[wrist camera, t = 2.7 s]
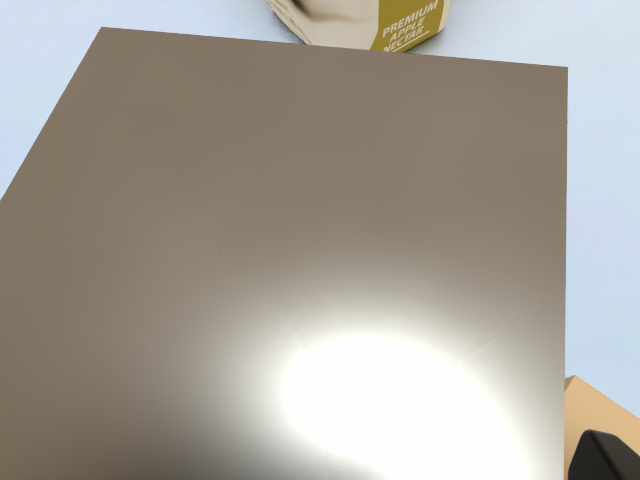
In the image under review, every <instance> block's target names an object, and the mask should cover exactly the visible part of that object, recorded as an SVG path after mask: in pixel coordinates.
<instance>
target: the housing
mask: <svg viewBox="0 0 640 480" xmlns="http://www.w3.org/2000/svg"><path fill="white" fill-rule="evenodd" d="M567 93H568V67H560V66H548V65H537V64H525V63H514V62H502V61H491V60H479V59H467V58H456V57H444V56H433V55H421V54H410V53H398V52H386V51H375V50H363V49H352V48H340V47H328V46H317V45H305V44H294V43H282V42H271V41H259V40H247V39H236V38H224V37H213V36H201V35H190V34H178V33H166V32H155V31H143V30H132V29H120V28H108V27H101V29H100V30H99V32H98V34H97V35H96V37H95V39H94V41H93V42H92V44H91V46H90V47H89V49H88V51H87V53H86V54H85V56H84V58H83V60H82V61H81V63H80V65H79V66H78V68H77V70H76V72H75V73H74V75H73V77H72V79H71V80H70V82H69V84H68V85H67V87H66V89H65V91H64V92H63V94H62V96H61V97H60V99H59V101H58V103H57V104H56V106H55V108H54V110H53V111H52V113H51V115H50V116H49V118H48V120H47V122H46V123H45V125H44V127H43V128H42V130H41V132H40V134H39V135H38V137H37V139H36V141H35V142H34V144H33V146H32V147H31V149H30V151H29V153H28V154H27V156H26V158H25V160H24V161H23V163H22V165H21V166H20V168H19V170H18V172H17V173H16V175H15V177H14V178H13V180H12V182H11V184H10V185H9V187H8V189H7V191H6V192H5V194H4V196H3V197H2V199H1V201H0V480H564V385H565V288H566V190H567Z"/></svg>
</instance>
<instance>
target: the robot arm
mask: <svg viewBox="0 0 640 480" xmlns="http://www.w3.org/2000/svg"><path fill="white" fill-rule="evenodd" d="M568 480H640V456H639V455H638V454H637V453H636V452H635V451H634V450H632V449H631V448H630V447H629V446H628V445H627V444H626V443H624V442H623V441H622V440H621V439H620V438H619V437H617V436H616V435H614V434H611V433H606V432H602V431H597V430H592V429H588V430H585V431H584V432H583V433H582V435H581V437H580V439H579V442H578V445H577V447H576V450H575V452H574V455H573V458H572V460H571V463H570V466H569V469H568Z"/></svg>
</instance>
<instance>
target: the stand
mask: <svg viewBox="0 0 640 480" xmlns="http://www.w3.org/2000/svg"><path fill="white" fill-rule="evenodd" d="M588 429H592V430H597V431H602V432H606V433H611V434H614V435H616V436H617V437H619V438H620V439H621V440H622V441H623V442H624V443H626V444H627V445H628V446H629V447H630V448H631V449H632V450H634V451H635V452H636V453H637V454H638V455H639V456H640V419H639V418H637V417H636V416H634V415H633V414H631V413H630V412H628V411H627V410H626V409H624V408H623V407H621V406H620V405H618V404H617V403H615V402H614V401H612V400H611V399H609V398H608V397H606V396H605V395H603V394H602V393H601V392H599V391H598V390H596V389H595V388H593V387H592V386H590V385H589V384H587V383H586V382H584V381H583V380H581V379H580V378H579V377H577V376H576V375H574V376H571V377H569V378H566V379H565V385H564V480H568V469H569V466H570V463H571V460H572V458H573V455H574V452H575V450H576V447H577V445H578V442H579V439H580V437H581V435H582V433H583V432H584V431H585V430H588Z"/></svg>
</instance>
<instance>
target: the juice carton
mask: <svg viewBox="0 0 640 480" xmlns="http://www.w3.org/2000/svg"><path fill="white" fill-rule="evenodd" d="M451 1H452V0H268V2H269V5H270V6H271V8H272V9H273V10H274V12H275V13H276V14H277V16H278V17H279V18H280V19H281V20H282V21H283V22H284V23H285V24H286V25H287V26H288V28H289V29H290V30H292V31H293V32H294V33H295V34H296V35H297V36H298V37H299V38H300V39H302V40H303V41H304V42H305V43H306V44H307V45H317V46H328V47H340V48H352V49H363V50H375V51H386V52H398V53H403V52H405V51H407V50H409V49H410V48H412V47H414V46H416V45H417V44H419V43H421V42H423V41H424V40H426V39H428V38H429V37H431V36H433V35H435V34H436V33H438V32H439V31H441V30H442V29H443V28H444V27H445V25H446V21H447V17H448V13H449V9H450V5H451Z"/></svg>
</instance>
